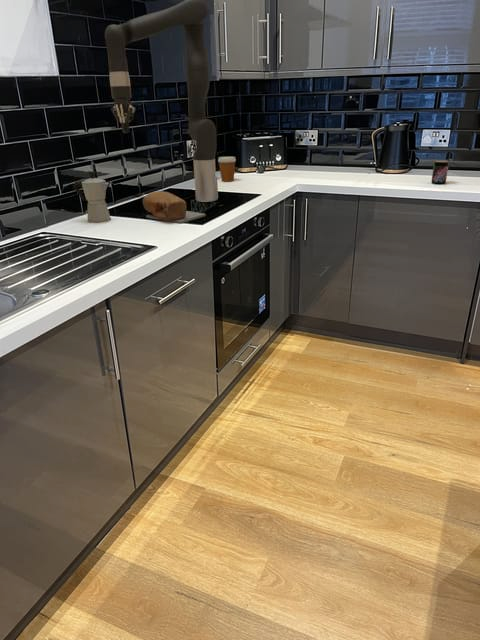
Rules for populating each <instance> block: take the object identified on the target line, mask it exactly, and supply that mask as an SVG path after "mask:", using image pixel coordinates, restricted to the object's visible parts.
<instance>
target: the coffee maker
mask: <svg viewBox="0 0 480 640" xmlns="http://www.w3.org/2000/svg"><path fill="white" fill-rule="evenodd" d="M88 173H89V177H90V178H88V179H87V178H84V179H79V180H76V181H74V184H73V189H74V190H75V191H76V193H77V195H78V196H79V198H80V199H81V200H82V202H85V201H87V222H88V223H91V224H99V223H100V224H101V223H107V222H108V221H109V222H110V221H111V220H112V218H111V215H110V211H109V209H108V205H107V202H106V200H105V199H106V191H107V188H108V186H109V184H110V183H109V182H107V181H106V180H105V179H101V178H97V177H96V171H94V170H93V171H88ZM79 187H80V188H81V189H83V193H84V195H83V193H82V191H81V190H80V189H79Z"/></svg>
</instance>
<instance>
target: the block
mask: <svg viewBox="0 0 480 640" xmlns="http://www.w3.org/2000/svg"><path fill="white" fill-rule="evenodd" d="M142 204H143V209H145V211H147V212H149V213H151V214H153V215H154V216H156V217H157V218H159V219H163V220H174V219H180V218H184V217H185V216H186V211H187V202H186V201H185V200H184V199H182V198H180V197H179V196H177V195H175V194H173V193H171V192H169V191H163V190H160V191H159V190H158V191H153V192H152V191H151V192H150V193H148V194H146V195H145V196H144V197H143V198H142ZM163 220H162V221H163Z"/></svg>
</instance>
